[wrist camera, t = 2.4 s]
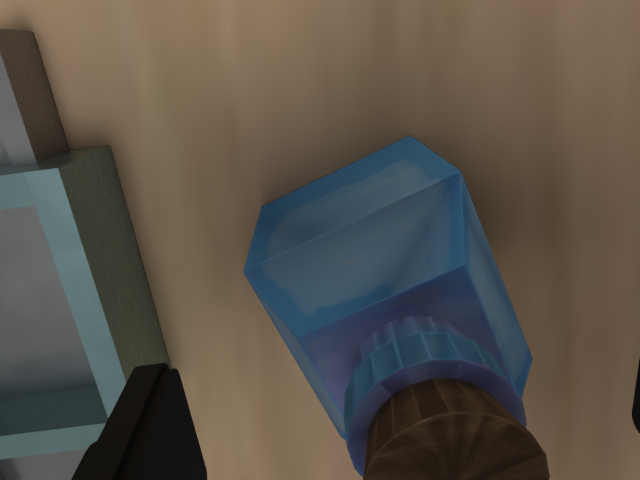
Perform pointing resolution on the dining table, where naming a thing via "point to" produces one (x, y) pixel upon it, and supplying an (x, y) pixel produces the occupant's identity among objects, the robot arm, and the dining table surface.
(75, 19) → the dining table surface
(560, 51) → the dining table surface
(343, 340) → the perfume bottle
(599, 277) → the dining table surface
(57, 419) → the pale teal rectangular frame
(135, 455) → the robot arm
